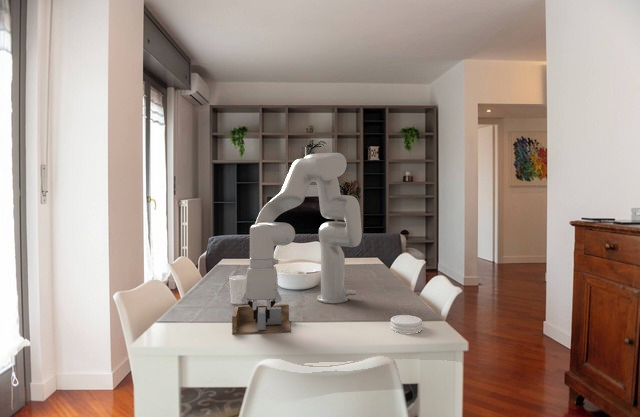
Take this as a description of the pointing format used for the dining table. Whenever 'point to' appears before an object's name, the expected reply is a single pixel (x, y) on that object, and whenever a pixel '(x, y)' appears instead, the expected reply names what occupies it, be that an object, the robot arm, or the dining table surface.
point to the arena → (247, 324)
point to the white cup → (237, 288)
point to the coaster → (406, 324)
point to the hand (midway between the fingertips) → (261, 320)
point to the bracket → (274, 317)
